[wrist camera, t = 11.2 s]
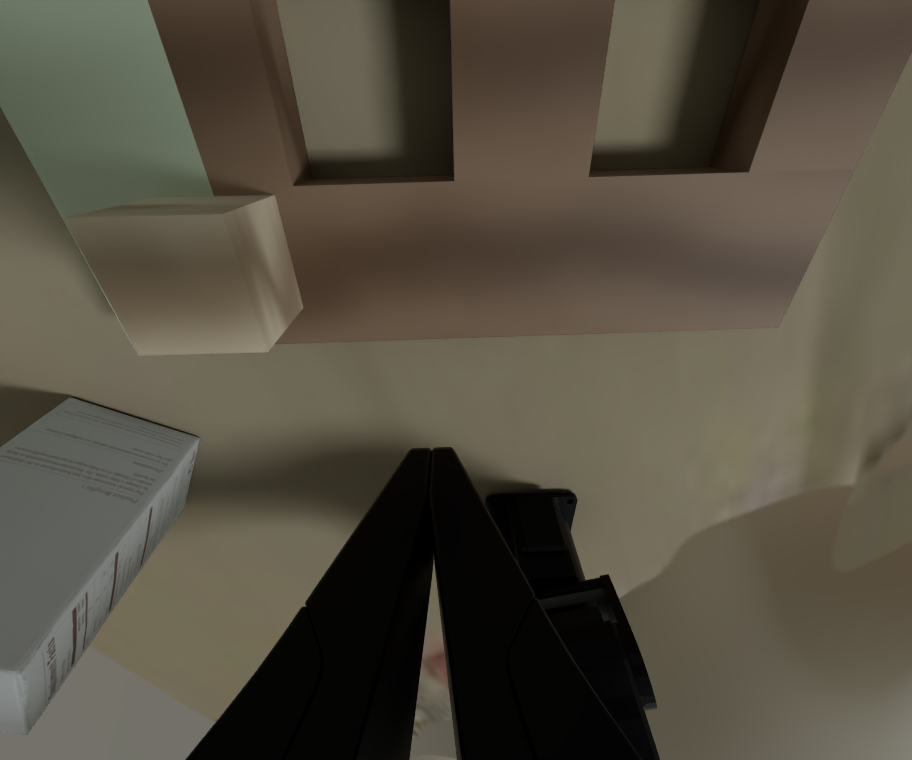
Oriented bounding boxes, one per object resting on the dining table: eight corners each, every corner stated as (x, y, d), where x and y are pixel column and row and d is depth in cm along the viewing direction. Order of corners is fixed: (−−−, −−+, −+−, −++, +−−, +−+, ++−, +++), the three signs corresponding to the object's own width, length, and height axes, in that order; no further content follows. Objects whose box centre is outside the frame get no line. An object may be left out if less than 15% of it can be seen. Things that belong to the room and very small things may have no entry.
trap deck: (743, 306, 20) (778, 327, 18) (167, 325, 20) (134, 348, 18) (894, -59, 13) (982, -95, 11) (-6, -34, 13) (-97, -68, 10)
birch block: (303, 308, 17) (268, 352, 13) (200, 310, 17) (138, 355, 13) (274, 194, 14) (222, 214, 11) (153, 197, 14) (63, 218, 11)
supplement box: (69, 472, 25) (-201, 717, 15) (70, 392, 22) (-284, 637, 11) (188, 506, 27) (26, 741, 17) (206, 437, 24) (16, 680, 13)
